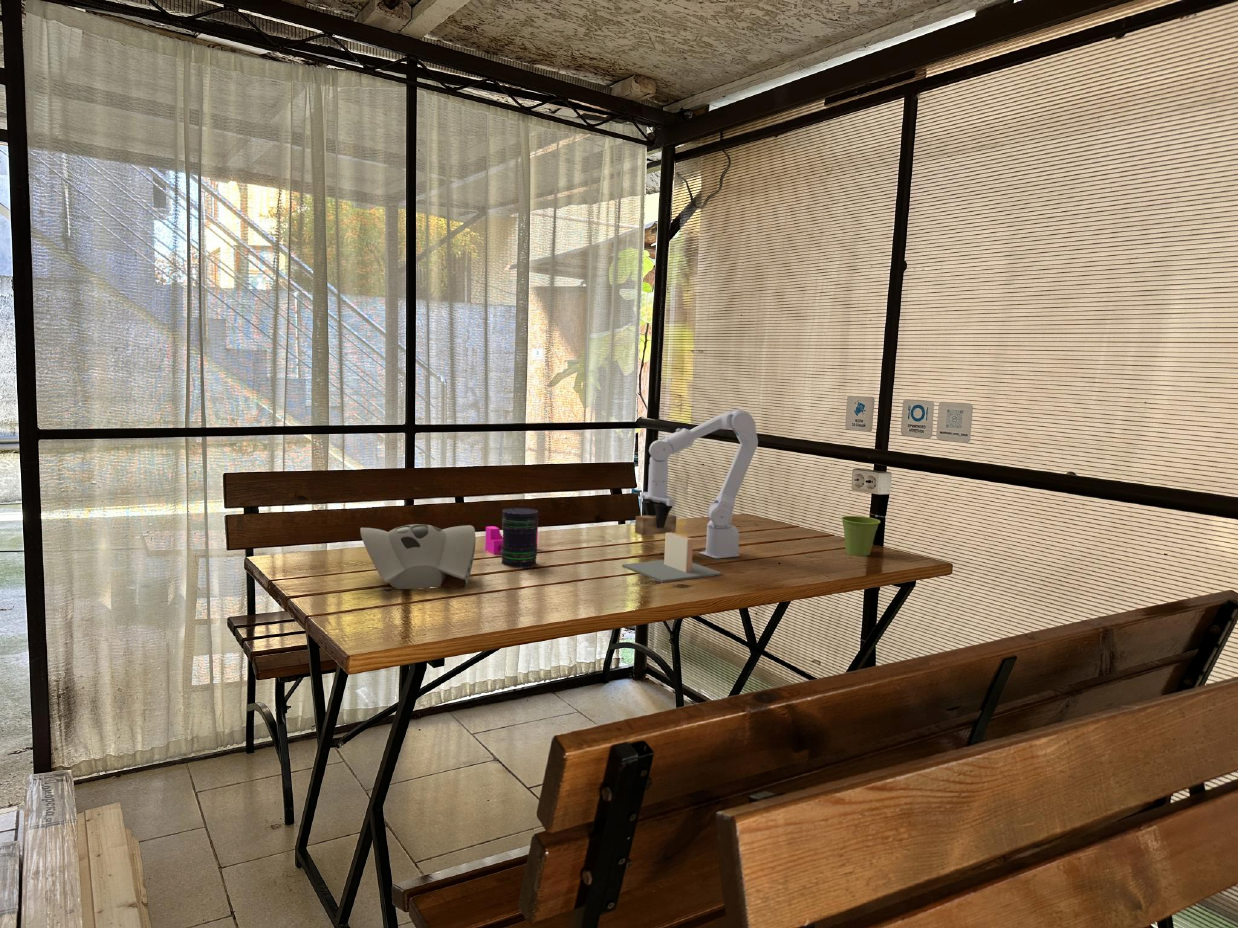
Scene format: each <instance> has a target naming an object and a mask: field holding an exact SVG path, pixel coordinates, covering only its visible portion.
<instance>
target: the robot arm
mask: <svg viewBox="0 0 1238 928" xmlns="http://www.w3.org/2000/svg"><path fill="white" fill-rule="evenodd" d="M718 430H726V431H727V430H732V431H733V432H734V433H735V435H736V438H737V439H738V441H739V446H738V448H737V451H736V453H735V455H734V458H733V460H732V462H731V465H730V468H729V470H728V472H727V474H726V477H725V480H724V481H723V484H722V486H721V489H720V492H719V493H718V494H717V495H716V497H715V500H714V501H713V502H712V503H711V504H710V505H709V506H708V508H707V516H708V517H709V519H710V520H709V522H707V523H706V542H705V551H699V554H700V555H704V556H706V557H710V558H713V559H726V558H734V557H741V554H740V553H739V546H740V544H739V543H740V533H739V530H738V528H737V527H736V526H735V525H732V524H731V523H732V521H733V510H734V508H735V502H736V498H737V495H738V494H739V491H740V488H741V485H742V484H743V481H744V478H745V476H746V474H747V471H748V469H749V467H750V464H751V462H752V460H753V457H754V455H755V453H756V450H757V448H758V444H759V439H758V434H757V428H756V422H755V419H754V418H753V416H752V415H751V413H749V412H748V411H746V410H743V409H740V408H735V409H733V410H731V411H730V412H729V411H726V412H723V413H722V414H719V415H716V416H715V417H712V418H711V419H709V420H707V421H705V422H702V423H701V424H699V425H697V426H695V427H693V428H692V429H688V428H684V427H683V428H677V429H675V432H672V433H671V434H668V435H667V436H665V435H663V436H661V440H660V439H658V440H654V441H653V442H652V443H651V444H650V445H649V449H648V452H649V455H650V457H649V464H648V482H647V483H648V485H647V491H642V492H640V499H642V500H643V501H641V505H642V507H643V509H644V511H645V516H646V515H656V523H657V528H664V525H665V522H666V519H667V516H668V514H670V511H671V510H672V509H673V506H675V498H672V497H670V496H668V485H669V484H668V483H669V465H668V463H669V457H670V456H671V455H675V454H678V453H679V452H681V451H684V450H685V449H688V448H690V447H692V446H693V444H694V441H695V440H696V439H700V438H701V437H705V436H706V435H708V434H710V433H711V434H712V433H713V432H716V431H718Z"/></svg>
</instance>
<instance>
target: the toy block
mask: <svg viewBox="0 0 1238 928" xmlns="http://www.w3.org/2000/svg"><path fill="white" fill-rule="evenodd" d="M538 530H539V528H538V529H537V532H536V544H537V545H538V536H539V533H538ZM484 544H485V545H484V551H485V552H488V553H491V554H492V555H501V550H502V544H503V535H502V534H501V529H500V528H499V527H497V526H493V525H492V526H485V543H484Z"/></svg>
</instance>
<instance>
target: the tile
mask: <svg viewBox="0 0 1238 928" xmlns="http://www.w3.org/2000/svg"><path fill="white" fill-rule="evenodd" d="M693 544H694V539H693V538H691V537H687V536H684V535H681V534H678V533H672V532H669V533H665V537H664V557H663V558H664V559H663V560H664V564H665V565H667V566H670V567H673V568H675V569H678V570H681V571H683V572H691V570H692V562H693V548H694V547H693V546H694V545H693Z"/></svg>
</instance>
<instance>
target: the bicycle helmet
mask: <svg viewBox="0 0 1238 928" xmlns="http://www.w3.org/2000/svg"><path fill="white" fill-rule="evenodd" d="M359 531H360V532H359V533H360V537H361V540H362V543H363V545H364V547H365V550H366V552H367V553H368V556H369V559H370V560H371V561H372V564H373V566H374V569H376V571H377V573H378V574H379V576H380V577H381V579H382V580H383V582H385V583H386V584H389V585H390V586H391V587H393V588H394V587H395V588H394V589H396V588H397V589H396V590H398V589H418V590H420V589H419V588H430V587H440V586H449V587H460V586H464V588H466V587H467V585H468V582H469V579H470V577H471V573H472V567H473V563H474V559H475V553H476V540H477V539H476V537H477V536H476V529H475V527H474V526H473V525H471V524H469V525H458V526H452V527H451V526H450V527H448V528H447V527H446V528H443V529H441V528H440V527H437V526H433V525H430V524H419V523H414V524H406V525H402V526H398V527H395V528H393V529H391V530H389V531H386V530H383V529H380V528H372V527H360V530H359ZM440 588H441V587H440Z"/></svg>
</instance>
